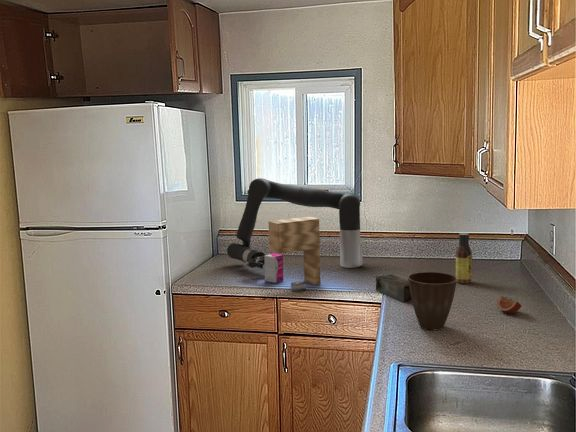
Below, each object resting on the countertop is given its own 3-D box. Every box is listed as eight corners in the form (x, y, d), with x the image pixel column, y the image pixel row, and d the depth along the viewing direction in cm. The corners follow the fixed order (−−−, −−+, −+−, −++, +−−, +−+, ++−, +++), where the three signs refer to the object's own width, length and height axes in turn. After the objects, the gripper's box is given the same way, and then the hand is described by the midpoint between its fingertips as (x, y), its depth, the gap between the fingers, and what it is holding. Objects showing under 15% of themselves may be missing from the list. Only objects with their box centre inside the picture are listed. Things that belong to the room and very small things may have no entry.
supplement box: (275, 284, 244) (274, 257, 242) (264, 282, 248) (263, 255, 246) (284, 281, 249) (283, 254, 247) (273, 279, 252) (272, 252, 250)
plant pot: (425, 315, 199) (425, 269, 196) (465, 325, 188) (466, 276, 185) (398, 326, 188) (398, 278, 186) (439, 338, 178) (439, 286, 175)
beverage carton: (392, 288, 234) (392, 271, 233) (422, 300, 217) (422, 283, 216) (375, 291, 231) (374, 274, 230) (404, 303, 213) (404, 286, 212)
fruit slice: (492, 310, 203) (492, 296, 202) (508, 307, 205) (509, 293, 204) (509, 317, 195) (509, 302, 194) (525, 314, 197) (526, 300, 196)
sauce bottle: (472, 284, 235) (473, 235, 232) (456, 284, 236) (456, 235, 233) (470, 280, 241) (471, 232, 238) (454, 280, 242) (455, 232, 239)
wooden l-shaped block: (310, 279, 250) (308, 216, 246) (321, 283, 242) (319, 218, 238) (270, 286, 240) (268, 221, 236) (280, 291, 233) (278, 223, 229)
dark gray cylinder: (298, 287, 238) (298, 280, 237) (309, 290, 234) (309, 283, 233) (288, 291, 234) (287, 283, 233) (298, 293, 229) (298, 286, 229)
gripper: (239, 251, 258) (256, 258, 245) (267, 247, 265) (285, 253, 252) (239, 268, 260) (256, 275, 246) (268, 263, 267) (286, 271, 253)
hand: (271, 264), depth 249 cm, fingers open, 8 cm apart
